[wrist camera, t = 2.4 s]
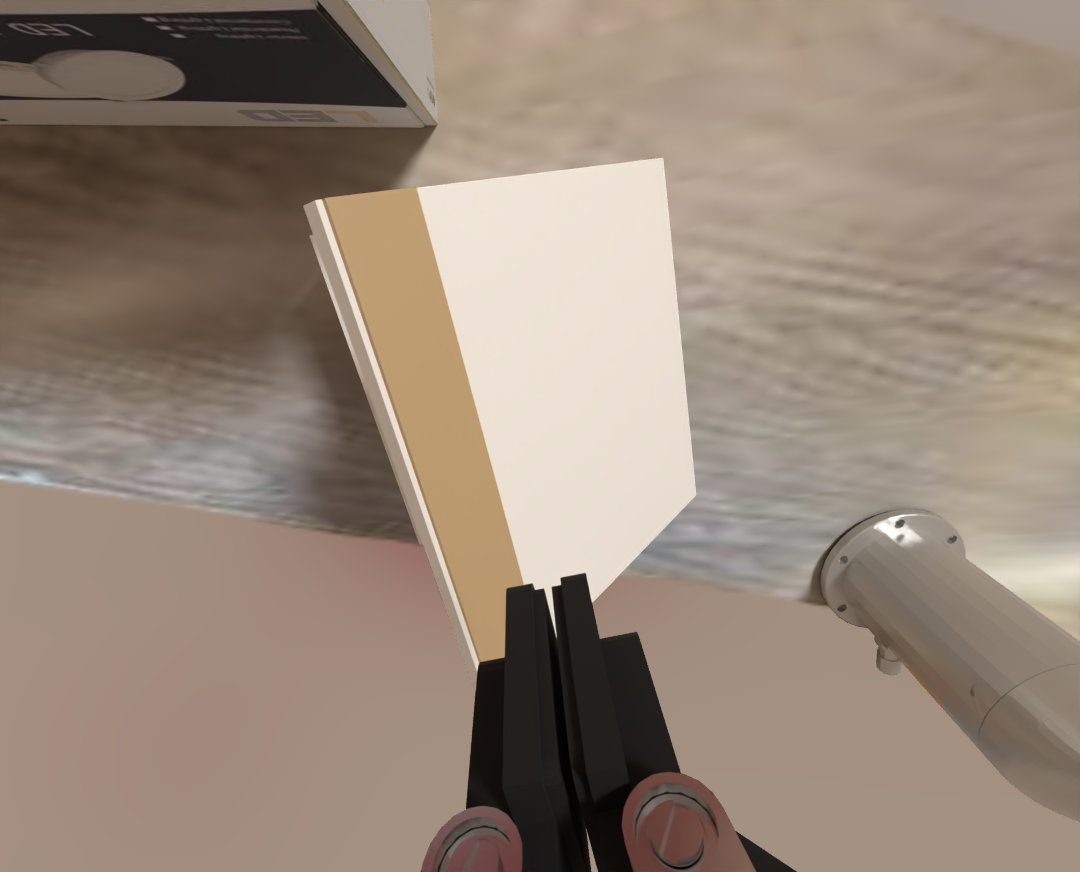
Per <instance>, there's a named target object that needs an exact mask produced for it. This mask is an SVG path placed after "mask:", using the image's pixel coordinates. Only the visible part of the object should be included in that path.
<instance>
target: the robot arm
mask: <svg viewBox="0 0 1080 872" xmlns="http://www.w3.org/2000/svg"><path fill="white" fill-rule="evenodd" d="M560 580H561V585H558V586H553V587H552V597H553V606H554V616H555V625H556V634H555V630H554V626H553V622H552V618H551V614H550V610H549V606H548V602H547V598H546V594H545V590H544V588H543V589H538V590H535V588H534V585H533V584H532V583H531V584H526V585H521V586H516V587H510V588H507V589H506V621H505V657H504V658H499V659H493V660H488V661H483V662H480V663H479V665H478V671H477V681H476V693H475V705H474V717H473V729H472V742H471V755H470V766H469V779H468V790H467V803H466V810H464V811H462V812H461V813H459V814H457V815H455V816H453V817H452V818H451V819H450V820H449V821H448V822H447V823H446V824H445V825H444V826H443V827H442V828H441V829H440V830H439V832H438V833H437V835H436V836H435V838H434V839H433V841H432V842H431V843H430V846H429V849H428V851H427V854H426V856H425V859H424V861H423V865H422V869H421V872H591V866H590V857H589V849H588V841H587V833H586V829H587V832H588V836H589V840H590V843H591V847H592V851H593V854H594V858H595V862H596V866H597V869H598V872H796V871H795V870H793V869H792V868H790V867H789V866H787V865H786V864H784V863H783V862H781V861H780V860H778V859H777V858H775V857H774V856H772V855H771V854H769V853H768V852H766V851H765V850H763V849H762V848H760V847H759V846H757V845H756V844H754V843H753V842H751V841H750V840H748V839H747V838H745V837H744V836H742V835H741V834H739V833H738V832H736V831H735V829H734V828H733V826H732V824H731V822H730V820H729V818H728V816H727V814H726V812H725V810H724V808H723V807H722V805H721V804H720V802H719V801H718V799H717V798H716V797H715V795H714V794H713V792H711V791H710V790H709V789H708V788H707V787H706V786H704V785H703V784H702V783H701V782H700V781H698V780H696V779H694V778H692V777H689V776H687V775H685V774H681V773H680V769H679V766H678V762H677V759H676V756H675V753H674V749H673V746H672V743H671V740H670V736H669V733H668V730H667V726H666V723H665V720H664V717H663V713H662V710H661V707H660V704H659V700H658V697H657V694H656V691H655V687H654V684H653V681H652V678H651V674H650V671H649V668H648V665H647V661H646V658H645V655H644V652H643V649H642V645H641V642H640V639H639V636H638V634H637V632H634V633H629V634H623V635H618V636H613V637H608V638H603V639H600V638H599V634H598V629H597V624H596V620H595V615H594V610H593V605H592V600H591V596H590V591H589V586H588V581H587V577H586V573H582V574H576V575H571V576H566V577H561V578H560ZM820 584H821V592H822V594H823V597H824V600H825V601H826V603H827V604H828V605H829V607H830V608H831V609H832V611H833V612H834V613H835V614H836V615H837V616H838V617H839V618H841V619H843V620H844V621H846V622H847V623H850V624H852V625H855V626H858V627H865V628H868V629H869V630H870V631H871V632H872V633H873V634H874V635H875V639H874V640H875V642H876V643H877V645H878V646H879V648H878V650H877V660H876V664H877V668H878V669H879V670H880V671H881V672H883V673H885V674H888V675H898V674H899V673H900V671H901V662H902V663H903V664H904V666H905V667H906V668H907V669H908V670H909V671H910V672H911V673H912V675H913V676H914V677H915V678H916V679H917V680H918V681H919V682H920V684H921V685H922V686H923V687H924V688H925V689H926V690H927V691H928V693H929V694H930V695H931V696H932V697H933V698H934V699H935V700H936V702H937V703H938V704H939V705H940V706H941V707H942V708H943V709H944V710H945V712H946V713H947V714H948V715H949V716H950V717H951V718H952V719H953V721H954V722H955V723H956V724H957V725H958V726H959V727H960V728H961V730H962V731H963V732H964V733H965V734H966V735H967V736H968V737H969V738H970V740H971V741H972V742H973V743H974V744H975V745H976V746H977V748H978V749H979V750H980V751H981V752H982V753H983V754H984V756H985V757H986V758H987V759H988V760H989V761H990V762H991V763H992V764H993V766H994V767H995V768H996V769H997V770H998V771H999V772H1000V773H1001V775H1003V776H1004V777H1005V778H1006V779H1007V780H1008V781H1009V782H1010V783H1011V784H1012V785H1013V786H1015V787H1016V788H1017V789H1018V790H1019V791H1020V792H1022V793H1023V794H1025V795H1026V796H1028V797H1029V798H1031V799H1032V800H1034V801H1035V802H1037V803H1039V804H1040V805H1042V806H1044V807H1047V808H1048V809H1050V810H1052V811H1055V812H1056V813H1059V814H1061V815H1064V816H1066V817H1068V818H1071V819H1074V820H1076V821H1079V822H1080V641H1078V640H1077V639H1076V638H1074V637H1073V636H1072V635H1070V634H1069V633H1067V632H1066V631H1065V630H1063V629H1062V628H1061V627H1059V626H1058V625H1056V624H1055V623H1054V622H1052V621H1051V620H1050V619H1048V618H1047V617H1045V616H1044V615H1043V614H1041V613H1040V612H1039V611H1037V610H1036V609H1035V608H1033V607H1032V606H1030V605H1029V604H1028V603H1026V602H1025V601H1024V600H1022V599H1021V598H1019V597H1018V596H1017V595H1015V594H1014V593H1013V592H1011V591H1010V590H1008V589H1007V588H1006V587H1004V586H1003V585H1002V584H1000V583H999V582H997V581H996V580H995V579H993V578H992V577H991V576H989V575H988V574H986V573H985V572H984V571H982V570H981V569H980V568H978V567H977V566H976V565H974V564H973V563H971V562H970V561H969V560H967V559H966V558H965V546H964V542H963V539H962V537H961V536H960V534H959V532H958V531H957V530H956V529H955V528H954V527H953V526H952V525H951V524H950V523H948V522H947V521H945V520H944V519H942V518H941V517H939V516H937V515H935V514H933V513H930V512H927V511H922V510H917V509H902V510H896V511H889V512H886V513H883V514H880V515H877V516H874V517H872V518H870V519H868V520H866V521H864V522H862V523H860V524H859V525H857V526H856V527H854V528H853V529H851V530H850V531H849V532H848V533H847V534H846V535H844V536H843V537H842V538H841V539H840V540H839V541H838V543H837V544H836V545H835V546H834V547H833V549H832V550H831V552H830V553H829V555H828V557H827V559H826V560H825V563H824V566H823V569H822V572H821V580H820ZM556 635H557V638H556Z"/></svg>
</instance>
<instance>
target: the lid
mask: <svg viewBox="0 0 1080 872" xmlns="http://www.w3.org/2000/svg"><path fill="white" fill-rule="evenodd" d="M303 207H304V210H305V213H306V216H307V219H308V221H309V224H310V227H311V230H312V233H313V236H314V238H315V241H316V244H317V247H318V250H319V253H320V255H321V258H322V261H323V264H324V267H325V269H326V272H327V275H328V278H329V281H330V284H331V286H332V289H333V292H334V295H335V298H336V301H337V303H338V306H339V309H340V312H341V315H342V318H343V320H344V323H345V326H346V329H347V332H348V334H349V337H350V340H351V343H352V346H353V349H354V351H355V354H356V357H357V360H358V363H359V366H360V368H361V371H362V374H363V377H364V380H365V383H366V385H367V388H368V391H369V394H370V397H371V400H372V402H373V405H374V408H375V411H376V414H377V416H378V419H379V422H380V425H381V428H382V431H383V433H384V436H385V439H386V442H387V445H388V448H389V450H390V453H391V456H392V459H393V462H394V465H395V467H396V470H397V473H398V476H399V479H400V482H401V484H402V487H403V490H404V493H405V496H406V498H407V501H408V504H409V507H410V510H411V513H412V515H413V518H414V521H415V524H416V527H417V530H418V532H419V535H420V538H421V541H422V544H423V547H424V549H425V552H426V555H427V558H428V561H429V563H430V566H431V569H432V572H433V575H434V578H435V580H436V583H437V586H438V589H439V592H440V594H441V597H442V600H443V603H444V606H445V609H446V612H447V614H448V617H449V620H450V623H451V626H452V628H453V631H454V634H455V637H456V639H457V643H458V645H459V648H460V651H461V654H462V657H463V660H464V662H465V665H466V668H467V671H468V674H469V677H470V679H471V682H472V685H473V688H474V691H475V693H476V681H477V671H478V665H479V663H480V662H483V661H488V660H493V659H499V658H504V657H505V621H506V589H507V588H510V587H516V586H521V585H526V584H531V583H532V584H533V585H534V588H535V590H538V589H543V588H544V590H545V594H546V598H547V602H548V606H549V610H550V614H551V618H552V622H553V626H554V630H555V634H556V625H555V616H554V606H553V597H552V587H553V586H558V585H561V580H560V578H561V577H566V576H571V575H576V574H582V573H586V577H587V581H588V586H589V591H590V596H591V600H592V603H593V601H594V600H595V599H596V598H597V597H598V596H599V595H600V594H601V593H602V592H603V591H604V590H605V589H606V588H607V587H608V586H609V585H610V584H611V583H612V582H613V581H614V580H615V579H616V578H617V577H618V576H619V575H620V574H621V573H622V571H623V570H624V569H625V568H626V567H627V566H628V565H629V564H630V563H631V562H632V561H633V560H634V559H635V558H636V557H637V556H638V555H639V554H640V553H641V552H642V551H643V550H644V549H645V548H646V547H647V546H648V545H649V544H650V543H651V541H652V540H653V539H654V538H655V537H656V536H657V535H658V534H659V533H660V532H661V531H662V530H663V529H664V528H665V527H666V526H667V525H668V524H669V523H670V522H671V521H672V520H673V519H674V518H675V517H676V516H677V515H678V514H679V513H680V511H681V510H682V509H683V508H684V507H685V506H686V505H687V504H688V503H689V502H690V501H691V500H692V499H693V498H694V497H695V496H696V487H695V477H694V467H693V457H692V447H691V437H690V426H689V416H688V406H687V396H686V386H685V375H684V365H683V355H682V345H681V335H680V325H679V314H678V304H677V294H676V284H675V274H674V263H673V253H672V243H671V233H670V223H669V213H668V202H667V192H666V182H665V172H664V162H663V158H659V159H651V160H642V161H634V162H626V163H618V164H609V165H601V166H593V167H585V168H576V169H568V170H560V171H552V172H543V173H535V174H527V175H519V176H510V177H502V178H494V179H486V180H477V181H469V182H461V183H453V184H444V185H436V186H428V187H420V188H416V187H412V188H403V189H395V190H387V191H378V192H370V193H362V194H353V195H345V196H337V197H328V198H324V199H321V200H314V201H312V202H310V203H308V204H306V205H304V206H303ZM556 638H557V635H556Z"/></svg>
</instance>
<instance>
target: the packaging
mask: <svg viewBox="0 0 1080 872" xmlns="http://www.w3.org/2000/svg"><path fill="white" fill-rule="evenodd" d="M0 124H9V125H141V126H274V127H406V128H424V126H428V125H435V126H437V124H438V118H437V103H436V88H435V73H434V58H433V43H432V27H431V12H430V8H429V6H428V3H427V1H426V0H0Z"/></svg>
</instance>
